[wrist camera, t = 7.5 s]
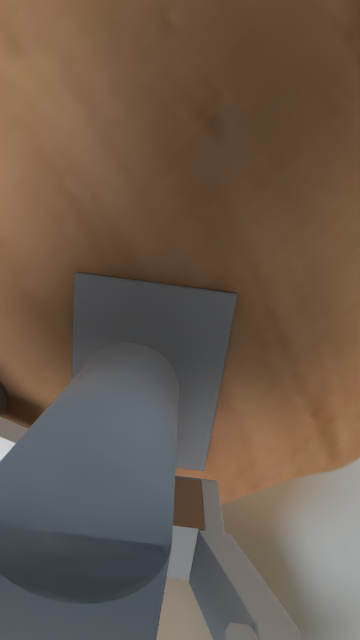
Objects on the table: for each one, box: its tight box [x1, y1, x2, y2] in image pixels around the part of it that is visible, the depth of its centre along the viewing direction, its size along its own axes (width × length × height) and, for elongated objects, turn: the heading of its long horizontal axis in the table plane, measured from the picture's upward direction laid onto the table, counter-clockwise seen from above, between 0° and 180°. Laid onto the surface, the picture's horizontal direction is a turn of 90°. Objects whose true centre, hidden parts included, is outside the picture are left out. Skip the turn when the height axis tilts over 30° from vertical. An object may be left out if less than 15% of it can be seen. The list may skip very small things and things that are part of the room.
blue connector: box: [0, 343, 179, 640], centre depth 8 cm, size 11×4×5 cm, turn 173°
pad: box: [72, 272, 238, 471], centre depth 16 cm, size 12×9×1 cm
